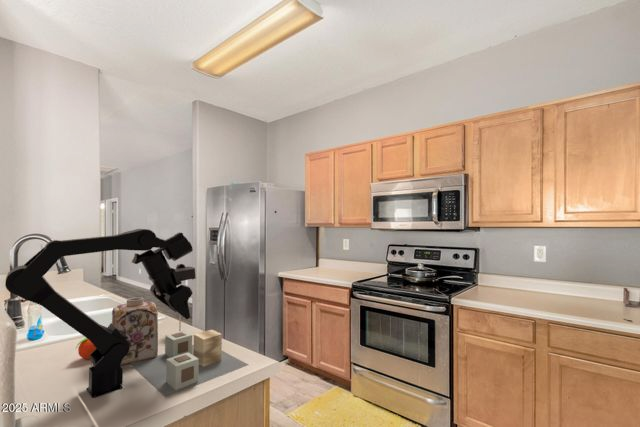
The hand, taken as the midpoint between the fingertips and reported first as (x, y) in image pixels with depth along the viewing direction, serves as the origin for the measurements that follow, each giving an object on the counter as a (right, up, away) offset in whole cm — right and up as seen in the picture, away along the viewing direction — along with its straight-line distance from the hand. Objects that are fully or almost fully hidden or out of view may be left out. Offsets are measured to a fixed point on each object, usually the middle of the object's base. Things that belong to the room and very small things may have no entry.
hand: (182, 314), depth 95 cm
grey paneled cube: (+4, -15, -10) cm, 18 cm away
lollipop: (-12, -16, +25) cm, 32 cm away
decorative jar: (-18, -15, +6) cm, 24 cm away
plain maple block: (+6, -15, +3) cm, 17 cm away
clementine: (-31, -15, +4) cm, 35 cm away
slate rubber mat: (+2, -15, +1) cm, 16 cm away
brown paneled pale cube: (-5, -15, +8) cm, 18 cm away
